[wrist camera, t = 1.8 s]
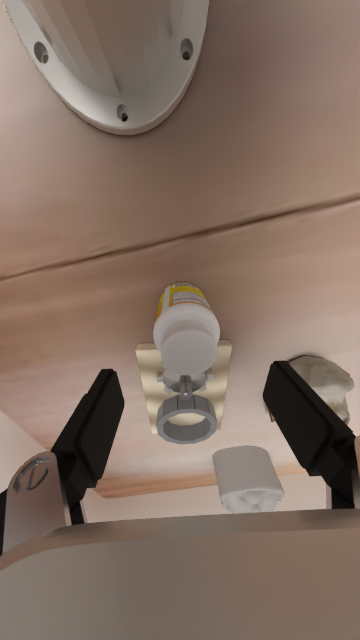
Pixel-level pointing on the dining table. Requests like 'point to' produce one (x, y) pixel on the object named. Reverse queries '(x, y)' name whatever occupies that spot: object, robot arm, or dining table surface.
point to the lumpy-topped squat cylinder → (247, 480)
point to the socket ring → (189, 432)
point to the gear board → (156, 395)
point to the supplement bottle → (186, 329)
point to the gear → (183, 382)
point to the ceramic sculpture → (325, 382)
